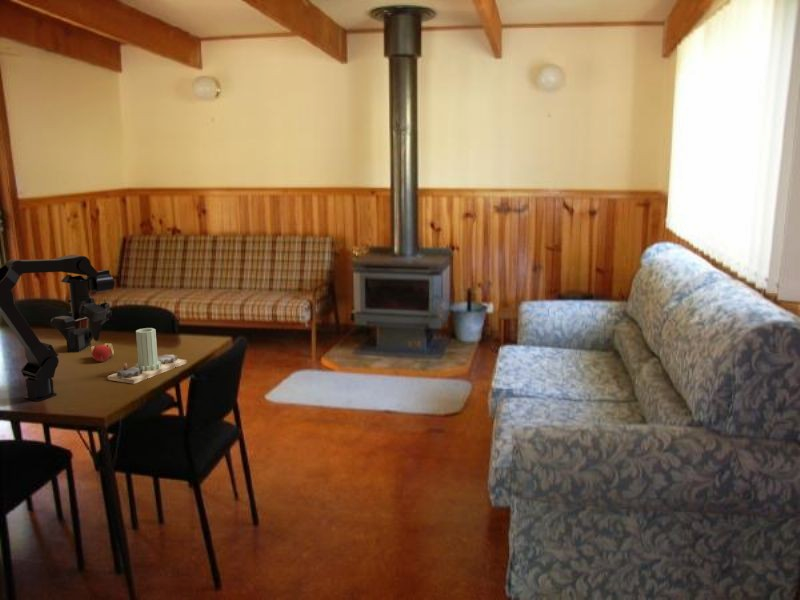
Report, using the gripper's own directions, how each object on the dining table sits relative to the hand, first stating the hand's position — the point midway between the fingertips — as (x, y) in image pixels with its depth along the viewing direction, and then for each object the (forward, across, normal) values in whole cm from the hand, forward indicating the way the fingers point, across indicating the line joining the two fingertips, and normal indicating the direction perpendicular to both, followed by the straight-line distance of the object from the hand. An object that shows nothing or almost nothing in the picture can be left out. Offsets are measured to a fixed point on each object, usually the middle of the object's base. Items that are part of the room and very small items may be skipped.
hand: (84, 344), depth 212 cm
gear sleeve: (+12, +18, -8) cm, 23 cm away
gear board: (+13, +18, -8) cm, 24 cm away
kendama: (+14, +26, +20) cm, 35 cm away
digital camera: (+13, +31, +37) cm, 50 cm away
